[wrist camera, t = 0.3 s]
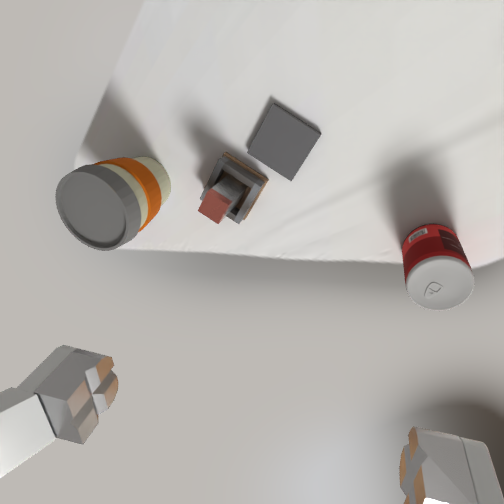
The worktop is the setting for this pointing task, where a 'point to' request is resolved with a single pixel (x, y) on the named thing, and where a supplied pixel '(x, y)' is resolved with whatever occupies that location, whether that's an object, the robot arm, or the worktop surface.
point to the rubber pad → (283, 142)
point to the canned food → (436, 268)
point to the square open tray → (244, 175)
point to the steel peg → (222, 198)
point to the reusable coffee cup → (112, 200)
